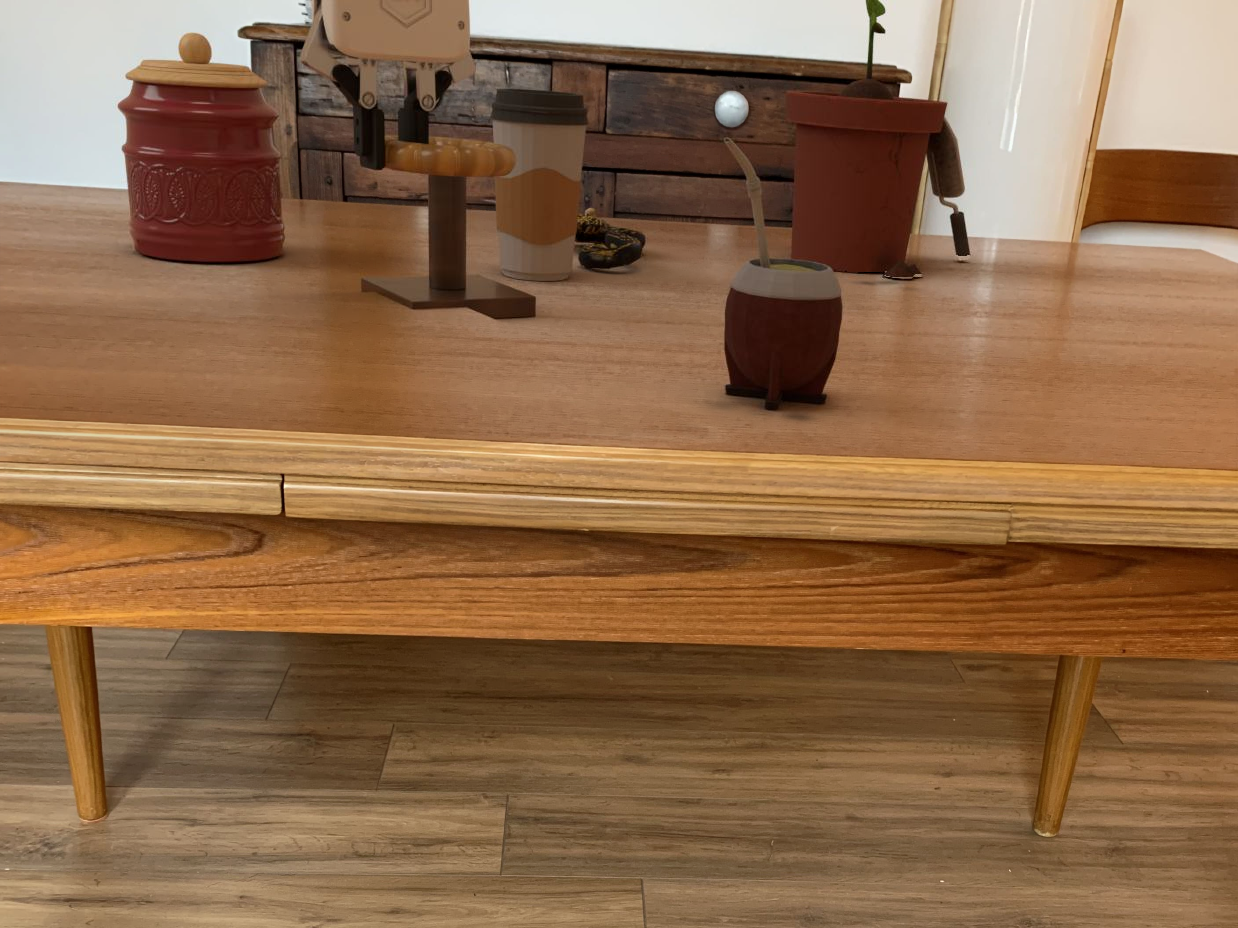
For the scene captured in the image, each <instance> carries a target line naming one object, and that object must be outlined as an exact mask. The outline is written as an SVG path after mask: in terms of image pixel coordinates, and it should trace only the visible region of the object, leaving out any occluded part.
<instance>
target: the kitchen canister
mask: <svg viewBox="0 0 1238 928" xmlns="http://www.w3.org/2000/svg"><path fill="white" fill-rule="evenodd" d="M178 54H179V57H180V60H176V59H175V60H173V59H172V60H171V59H143V60H142V61H141V62H140V64H139V65H137V66H136V67H135V68H133V69H131V70H130V71H127V72H126V73H125V76H124V77H125V79H126V80H128V81H132V85H131V88H130V89H131V90H130V92H129V94H128V95H127V96H126V97H124V98H123V99H121V100H120V101H119V102H118V103H117V109H118V110H119V111H120V112H121V113H122V115H123V116H124V118H125V127H126V139H125V143H124V144H123V145H121V151H122V153H123V155H124V162H125V163H124V164H125V173H126V183H127V184H126V185H127V195H128V203H129V205H128V206H129V215H130V216H129V220H128V226H129V228H130V230H129V235H130V237H131V239H132V242H133V247H134V250H135V252H137V253H139V254H142V255H144V256H148V257H153V258H158V259H163V260H164V259H165V260H172V261H181V262H196V263H240V262H241V263H243V262H255V261H263V260H269V259H273V258H277V257H279V256H281V255H282V254H283V252H284V243H285V240H286V234H285V228H286V227H285V224H284V221H283V211H282V210H283V209H282V192H281V172H280V160H281V159H282V154H281V152H280V151H279V150H278V149H277V147H276V144H275V136H274V124H275V122H276V121H277V120H278V119H279V116H280V114H279V111H278V110H277V109H275V107H273V106H272V105H270V104H269V103H268V102H267V101H266V99H265V97H264V94H263V92H262V89H263V88H267V87H268V82H267V81H266V80H265V79H263V78H261V77H260V76H259V75H257V74H256V73H255V72H253V71H252V69H251V68H250V67H249V66H247V65H241V64H233V63H222V62H210V61H211V60H212V55H213V51H212V46H211V44H210V41H209V39H207V37H206V36H205V35H203V34H201V33H197V32H188V33H187V32H186V33H185V34H183V35H182V36H181V38H180V39H179V42H178Z"/></svg>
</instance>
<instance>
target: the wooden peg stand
mask: <svg viewBox="0 0 1238 928" xmlns="http://www.w3.org/2000/svg"><path fill="white" fill-rule="evenodd" d="M427 215H428V217H427V220H428V222H427V223H428V275H419V276H389V277H387V276H386V277H385V276H384V277H363V278H361V279H360V287H361V289H360V291H361V293H376V294H378V295H380V296H383V297H385V298H387V299H389V300H391V301H393V302H395V303H397V304H399V305H402V306H404V307H406V308H408V309H410V310H412V311H413V310H433V309H434V310H436V309H437V310H438V309H456V308H468V309H470V310H472V311H475V312H476V313H479V314H482V315H483V316H485V317H488V318H489V319H510V318H511V319H512V318H531V317H536V315H537V314H536V313H537V311H536V310H537V297H536V296H535V295H532V294H530V293H528V292H525V291H522V290H520V289H517V288H514V287H511V286H509V285H506V284H504V283H501V282H499V281H497V280H494V279H491V278H489V277H486V276H483V275H481V274H478V273H477V274H467V177H455V176H442V175H429V174H427Z"/></svg>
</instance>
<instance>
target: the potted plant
mask: <svg viewBox="0 0 1238 928" xmlns="http://www.w3.org/2000/svg"><path fill="white" fill-rule="evenodd" d="M865 6H866V12H867V15H868V19H869V21H868V22H869V24H868V25H869V27H868V28H869V29H868V31H869V32H868V50H867V61H866V62H867V64H866V76H865V78H863V79H859V80H855V81H851V82H850V83H849V84H847V86H846V87H845V88H843V89H842V90H841V91H840V92H835V91H834V92H833V91H813V90H786V91H785V116H786V117H785V120H786V121H787V122H790V123H795V126H796V127H795V145H794V147H795V148H794V170H793V171H794V174H793V198H792V199H793V201H792V227H791V249H790V250H791V251H790V259H794V260H803V261H810V262H816V263H820V264H824V265H826V266H829V267H830V268H831V269H832V270H833V272H841V273H842V272H843V273H855V274H856V273H857V274H859V273H858V272H885V271H887V272H886V273H882V275H886V276H890V277H913V276H914V275H915V274H922V275H923V273H922V271H920V269H919V268H918V266H917V264H916V263H913V264H911V265H909V264H907V263H906V258H907V252H908V248H909V242H910V238H911V232H912V229H913V223H914V216H915V212H916V206H917V202H918V197H919V191H920V187H921V181H922V176H923V171H924V167H925V161H926V162H927V168H928V173H929V180H930V184H931V191H932V194H933V195H934V196H935V197H938V199H939V203H940V204H941V205H943V206H944V207H948V208H951V209H952V210H953V212H952V213H951V214H950V215H949V220H950V221H949V222H950V227H951V233H952V239H953V245H954V251H955V256H956V255H958V256H967V255H970V256H971V250H970V243H969V237H968V232H967V225H966V219H965V213H964V212H963V211H961V210H960V211H959V207H958V205H957V204H956V203H955V202H952V201H948V200H945V199H955V198H959V197H961V196H963V195H964V193H965V190H966V188H965V187H966V186H965V180H964V174H963V173H964V172H963V167H962V160H961V155H960V149H959V142H958V139H957V136H956V134H955V132H954V131H953V128H952V127H951V125H950V123H949V121H948V120H947V118H946V116H945V115H946V112H947V108H948V107H947V106H948V102H947V101H940V100H933V99H923V98H912V97H900V96H894V95H893V93H892V92H891V91H890V89H889V88H888V87H887V86H886V84H885V83H883V82H881V81H878V80H875V79H873V63H874V62H873V61H874V37H875V34H883V35H884V34H886V32H887V31H886V29H885V28H884V27H883V25H882V24H881V23H880V22H878V21H877V19H878V18H879V17H881V16H883V15H885V14H886V7H885V5H884V3H882V2H881V1H880V0H865ZM958 262H960V263H962V262H961V261H958ZM835 270H836V271H835ZM845 271H847V272H845ZM890 279H892V278H890ZM892 280H893V279H892ZM902 280H904V279H902Z"/></svg>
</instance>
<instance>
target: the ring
mask: <svg viewBox="0 0 1238 928" xmlns="http://www.w3.org/2000/svg"><path fill="white" fill-rule="evenodd" d="M515 164H516V156H515V153H514V152H513V150H512V149H511V148H509V147H508V146H505V145H501V144H496V143H494V142H491V141H482V140H474V139H465V138H453V137H443V136H442V137H441V136H429V144H421V143H413V142H405V141H398V135H385V168H384V169H389V170H393V171H396V172H405V173H411V174H412V173H413V174H419V175H428V174H429V175H442V176H455V177H466V178H494V177H499V176H506V175H508V174H509V173H511V171H512V170H513V168H514V166H515Z"/></svg>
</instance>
